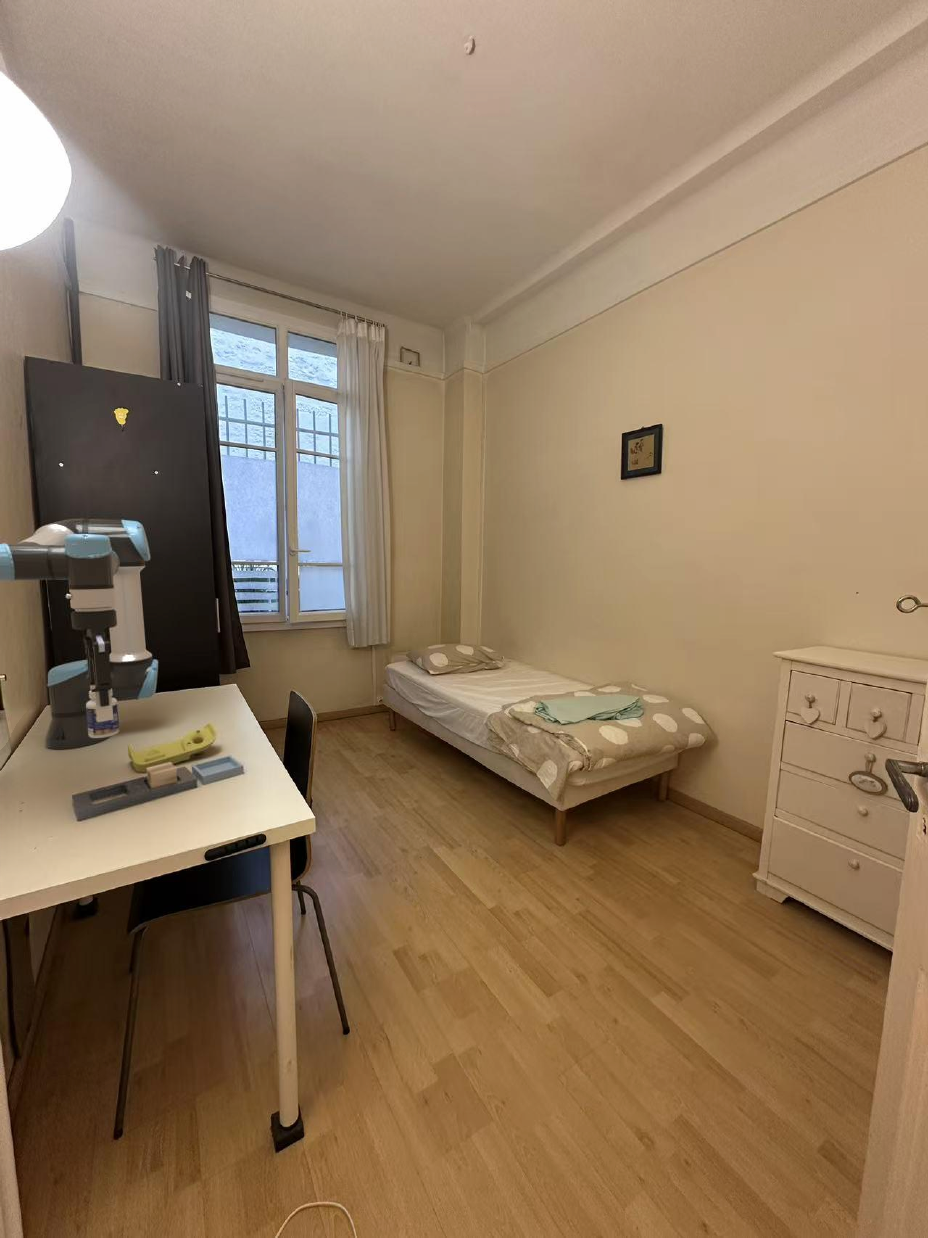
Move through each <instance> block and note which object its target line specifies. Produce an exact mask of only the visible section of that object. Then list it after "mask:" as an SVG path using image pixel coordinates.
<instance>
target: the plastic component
mask: <svg viewBox="0 0 928 1238" xmlns="http://www.w3.org/2000/svg"><path fill="white" fill-rule="evenodd" d="M217 736H218V734H217V730H216V728H215V726H214V724H213V723H212V722H209V723H207V724H206V725H205V726H204V727H203V728H202V729H196V730H194V731H191V732H189V733H187V734H185V735H184V736H183V737H182V738H180V739H177V740H173V741H170V742H166V743H162V744H160V745H156V746H152V747H148V748H146V749H142V750H138V751H134V748H133V747H132V745H131V744H129V745H128V744H127V751H128V758H129V759H130V760H131V762H132V765H133V768H134V770H135V771H136V772H138V773H147V771H146V768H148V767H152V766H156V765H161V764H165V763H169V762H171V763H172V764H173V765H174V764H177V763H181V762H183V761H184V762H185V761H187V760H189V759H190V756H191V755H194V754H195V755H199V754H203V753H204V751H206V749H208V748H209V747H211V746H212V745H213V744H214V742H215V741H216V739H217Z"/></svg>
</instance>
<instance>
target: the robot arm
mask: <svg viewBox="0 0 928 1238" xmlns="http://www.w3.org/2000/svg"><path fill="white" fill-rule="evenodd" d="M150 560H151V553H150V547H149V543H148V538H147V535H146V531H145V528H144V526H143V524H142V523H140V522H139V521H138V520H128V519H127V520H125V519H101V518H98V519H96V518H70V519H63V520H59V521H56V522H55V521H54V522H52V523H47V524H45V525H43V526H40V527H39V528H38V529H36V530H35V532H34V534H33V535H31V536H30V537H28V538H26V539H24V540H21V541H20V542H17V543H13V544H11V543H10V544H9V543H5V542H3V543H0V581H10V582H14V581H40V580H41V581H43V580H45V581H46V580H47V581H48V580H51V581H52V580H57V581H58V580H59V581H60V580H61V581H63V580H64V581H65V580H68V590H69V593H66V595H65V598H66V599H67V600H69V599H70V608H71V609H74V610H73V611H72V612H71V613H70V617H71V618H70V619H71V627H72V629H74V630H77V631H79V630H80V631H86V635H84V637H83V644H84V649H85V655H86V659H83V660H77V661H72V662H67V663H63V664H61V665H57V666H54V667H52V668H51V669H50V670H49V671H48V673H47V687H48V695H49V697H48V699H49V706H50V716H51V720H50V723H49V727H48V729H47V732H46V736H45V739H44V740H45V747H46V748H48V749H50V750H67V749H75V748H82V747H87V746H90V745H94V744H97V743H101V742H104V741H105V740H107V739H109V738H110V737H111V736H108V737H103V738H91V737H89V735H88V724H87V712H86V704H87V702H89V701H90V700H91V699H90V698H89V691H91V692H95V704H96V715H97V722H103V721H108V720H113V708H112V698H115V699H116V700H117V702H122V701H125V702H126V701H131V700H132V701H133V700H141V699H148V698H151V697H153V696H154V695H155V694H156V690H157V683H158V674H159V673H158V672H159V671H158V670H159V660H158V659H153V654H152V653H151V652H150V651H148V650H147V649H146V636H145V622H144V612H143V611H144V609H143V598H142V596H143V595H142V586H141V585H142V583H141V574H140V573H141V571H142V570H143V569H144V568H146V562H148V561H150ZM105 629H109V636H108V635H107V634H106V632H105ZM110 650H111V652H110ZM111 689H112V693H113V695H112V696H111Z"/></svg>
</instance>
